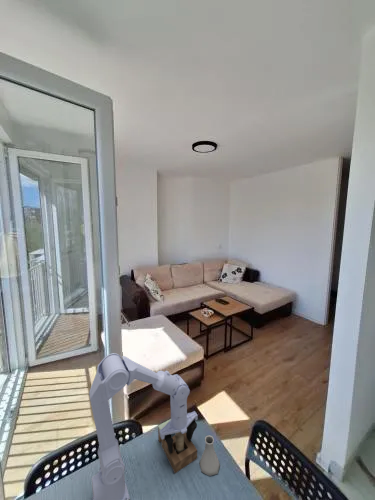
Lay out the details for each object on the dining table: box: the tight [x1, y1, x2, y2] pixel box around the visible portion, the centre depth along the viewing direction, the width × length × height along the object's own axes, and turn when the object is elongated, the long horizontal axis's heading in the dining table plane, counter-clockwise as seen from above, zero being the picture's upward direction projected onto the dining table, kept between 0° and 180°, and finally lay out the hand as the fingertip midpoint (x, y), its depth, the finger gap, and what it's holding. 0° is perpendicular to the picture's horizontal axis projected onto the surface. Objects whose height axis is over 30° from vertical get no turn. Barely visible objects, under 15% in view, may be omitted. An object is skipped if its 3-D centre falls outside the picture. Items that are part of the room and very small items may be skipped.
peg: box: [174, 432, 184, 455], centre depth 80 cm, size 3×3×8 cm
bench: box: [157, 418, 171, 449], centre depth 86 cm, size 9×4×6 cm, turn 121°
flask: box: [198, 434, 221, 477], centre depth 76 cm, size 7×7×10 cm
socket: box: [162, 432, 198, 474], centre depth 80 cm, size 9×9×4 cm
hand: (179, 444), depth 80 cm, fingers open, 7 cm apart
